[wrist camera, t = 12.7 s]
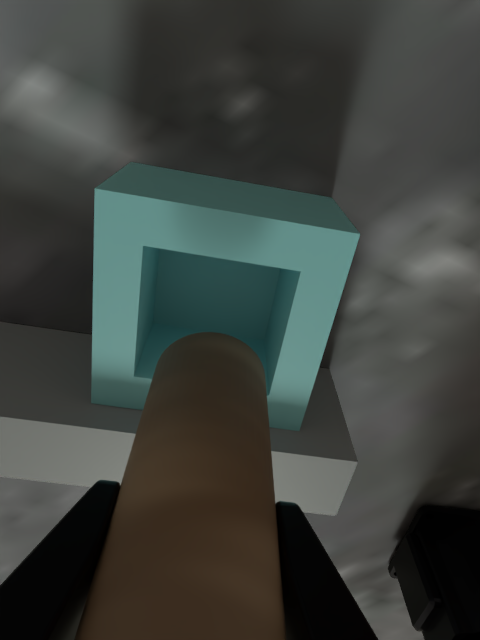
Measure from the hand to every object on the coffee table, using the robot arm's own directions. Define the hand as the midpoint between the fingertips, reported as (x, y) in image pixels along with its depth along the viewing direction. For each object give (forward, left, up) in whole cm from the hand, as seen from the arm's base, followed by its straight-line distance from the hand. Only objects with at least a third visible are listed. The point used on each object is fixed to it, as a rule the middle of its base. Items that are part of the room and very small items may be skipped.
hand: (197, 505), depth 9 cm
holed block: (0, 0, -12) cm, 12 cm away
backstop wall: (+3, +6, -12) cm, 14 cm away
